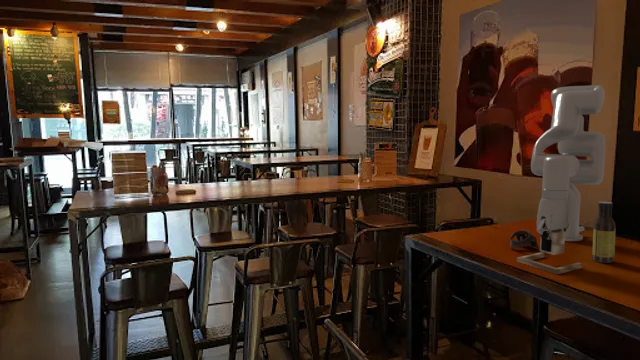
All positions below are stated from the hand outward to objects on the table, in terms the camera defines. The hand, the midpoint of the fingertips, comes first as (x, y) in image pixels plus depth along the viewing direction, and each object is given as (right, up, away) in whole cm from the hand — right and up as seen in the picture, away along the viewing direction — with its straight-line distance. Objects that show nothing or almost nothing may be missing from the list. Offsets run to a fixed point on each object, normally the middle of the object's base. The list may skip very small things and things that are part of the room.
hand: (551, 249), depth 144 cm
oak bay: (-1, -5, 0) cm, 5 cm away
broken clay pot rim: (-1, -3, +19) cm, 20 cm away
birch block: (0, -1, 0) cm, 1 cm away
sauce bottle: (+19, -5, +4) cm, 20 cm away
